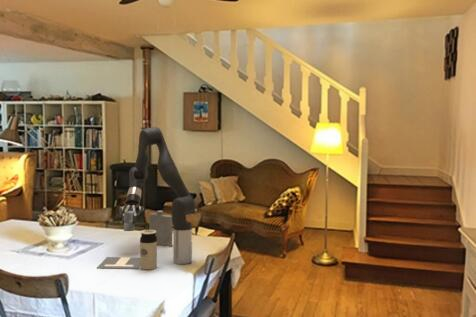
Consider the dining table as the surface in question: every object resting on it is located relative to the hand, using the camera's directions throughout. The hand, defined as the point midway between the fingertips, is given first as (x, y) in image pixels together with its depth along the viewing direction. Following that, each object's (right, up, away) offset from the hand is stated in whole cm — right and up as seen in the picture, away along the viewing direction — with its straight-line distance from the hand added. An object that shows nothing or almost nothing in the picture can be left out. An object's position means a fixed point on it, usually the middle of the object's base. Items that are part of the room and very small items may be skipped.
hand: (128, 223), depth 228 cm
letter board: (0, -18, -12) cm, 22 cm away
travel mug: (+14, -19, -18) cm, 30 cm away
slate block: (0, -4, +2) cm, 5 cm away
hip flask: (+13, -16, +23) cm, 31 cm away
